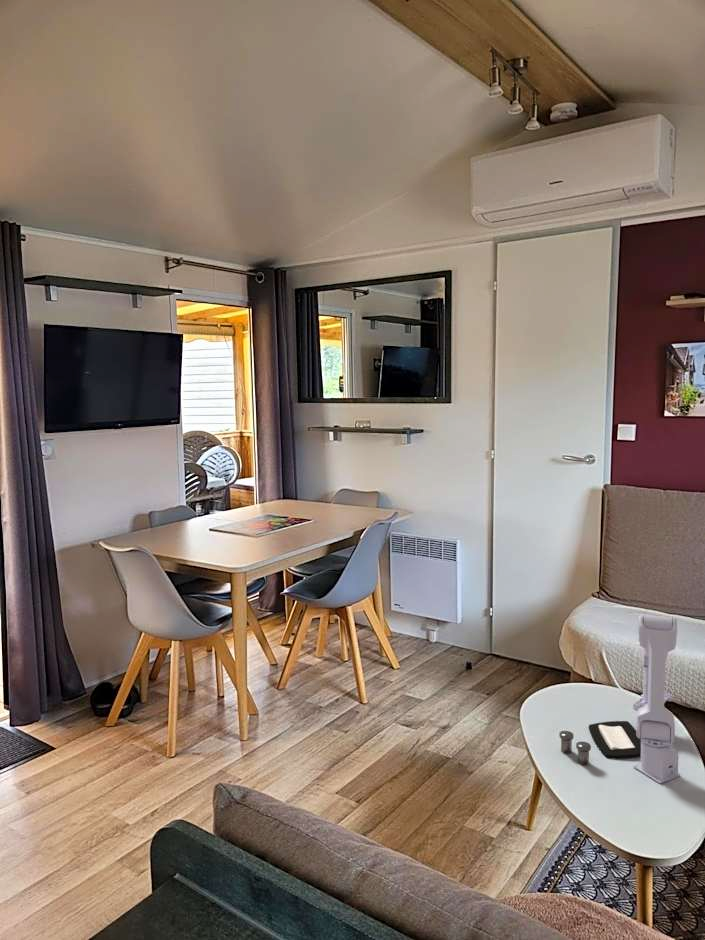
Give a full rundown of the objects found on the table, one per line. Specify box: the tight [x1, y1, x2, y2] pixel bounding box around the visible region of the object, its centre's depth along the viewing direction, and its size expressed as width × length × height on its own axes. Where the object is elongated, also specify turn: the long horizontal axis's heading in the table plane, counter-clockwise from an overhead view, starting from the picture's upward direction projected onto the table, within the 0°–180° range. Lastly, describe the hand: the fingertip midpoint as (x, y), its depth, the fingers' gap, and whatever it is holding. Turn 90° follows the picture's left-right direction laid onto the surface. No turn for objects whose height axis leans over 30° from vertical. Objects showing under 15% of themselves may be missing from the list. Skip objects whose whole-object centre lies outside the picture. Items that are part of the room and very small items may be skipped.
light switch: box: [588, 720, 641, 760], centre depth 215 cm, size 20×3×14 cm
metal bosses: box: [558, 730, 592, 766], centre depth 208 cm, size 11×4×5 cm, turn 26°
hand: (652, 726), depth 221 cm, fingers closed
